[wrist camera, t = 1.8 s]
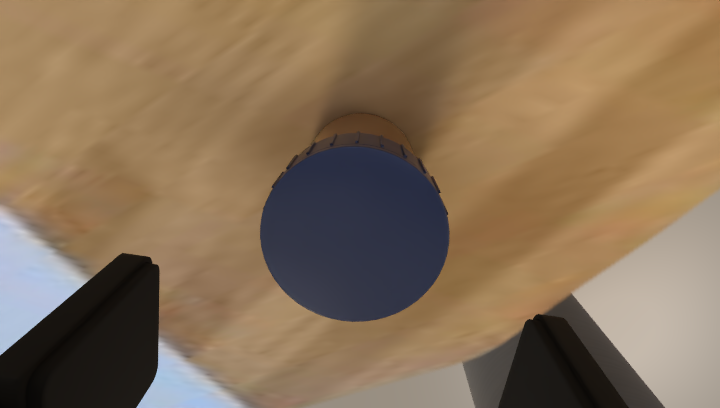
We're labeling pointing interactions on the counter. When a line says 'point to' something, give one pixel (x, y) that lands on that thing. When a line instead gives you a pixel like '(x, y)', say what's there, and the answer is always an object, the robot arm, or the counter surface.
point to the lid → (355, 228)
